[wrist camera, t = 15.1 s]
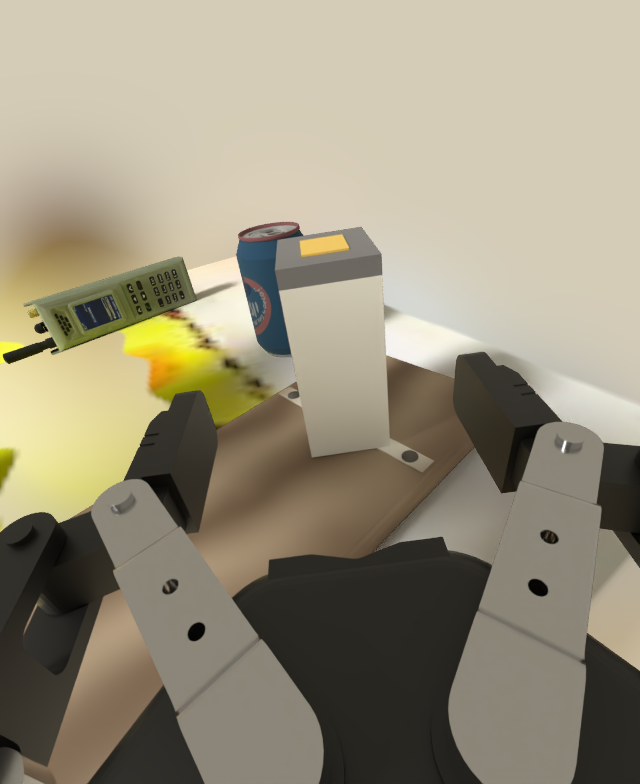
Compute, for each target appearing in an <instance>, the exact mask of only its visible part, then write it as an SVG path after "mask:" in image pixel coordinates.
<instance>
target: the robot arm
mask: <svg viewBox="0 0 640 784" xmlns="http://www.w3.org/2000/svg"><path fill="white" fill-rule="evenodd" d="M453 403H454V408H455V412H456V414H457V416H458V418H459V420H460V422H461V423H462V425H463V427H464V429H465V430H466V432H467V434H468V436H469V437H470V439H471V441H472V443H473V444H474V446H475V448H476V450H477V451H478V453H479V455H480V457H481V458H482V460H483V462H484V464H485V465H486V467H487V469H488V471H489V472H490V474H491V476H492V478H493V479H494V481H495V483H496V485H497V486H498V488H499V490H500V492H501V493H507V492H515V491H517V492H516V495H515V498H514V501H513V504H512V507H511V510H510V513H509V517H508V520H507V523H506V526H505V529H504V532H503V535H502V538H501V541H500V544H499V547H498V550H497V553H496V556H495V560H494V563H493V566H492V565H491V564H489V563H487V562H485V561H483V560H481V559H478V558H476V557H473V556H470V555H467V554H464V553H459V552H455V551H448V550H447V548H446V545H445V542H444V539H443V537H438V538H430V539H422V540H415V541H407V542H400V543H397V544H395V545H392V546H389V547H387V548H384V549H382V550H379V551H377V552H374V553H372V554H369V555H367V556H364V557H361V558H357V559H351V558H342V557H333V556H324V555H315V554H308V555H301V556H293V557H286V558H278V559H271V560H269V568H268V574H267V575H264V576H262V577H260V578H258V579H256V580H254V581H253V582H251V583H250V584H248V585H247V586H245V587H244V588H242V589H241V590H240V591H239V592H238V593H236V594H235V595H234V596H233V597H232V598H231V597H230V595H229V594H228V592H227V591H226V590H225V588H224V587H223V585H222V584H221V583H220V581H219V580H218V578H217V577H216V575H215V574H214V573H213V571H212V570H211V568H210V567H209V566H208V564H207V563H206V561H205V560H204V558H203V557H202V556H201V554H200V553H199V551H198V550H197V549H196V547H195V546H194V544H193V543H192V541H191V540H190V539H189V537H188V536H187V534H190V533H198V532H199V529H200V524H201V520H202V515H203V511H204V506H205V501H206V497H207V492H208V488H209V483H210V478H211V474H212V469H213V465H214V460H215V455H216V451H217V445H218V438H217V431H216V427H215V425H214V422H213V419H212V416H211V413H210V410H209V408H208V405H207V402H206V399H205V396H204V394H203V393H202V391H200V390H199V391H192V392H184V393H177V394H175V396H174V398H173V401H172V403H171V406H170V408H169V410H168V411H162V412H161V413H159V414H158V415H157V416H156V417H155V418H154V419H153V420H152V421H151V422H150V424H149V426H148V428H147V430H146V433H145V437H143V439H142V441H141V444H140V447H139V448H138V450H137V452H136V455H135V457H134V459H133V461H132V463H131V466H130V468H129V470H128V472H127V474H126V476H125V479H124V481H122V482H120V483H117V484H116V485H113V486H112V487H110V488H108V489H107V490H106V491H105V492H103V493H102V494H101V495H100V496H99V497H98V499H97V500H96V501H95V503H94V505H93V507H92V511H89V512H87V513H84V514H82V515H79V516H76V517H74V518H71V519H69V520H66V521H63V522H61V523H58V522H57V521H56V519H55V518H54V517H53V516H52V515H51V514H49V513H45V512H39V513H34V514H30V515H27V516H24V517H22V518H20V519H18V520H16V521H15V522H13V523H12V524H10V525H9V526H7V527H6V528H5V529H3V530H2V531H1V532H0V784H56V780H55V777H54V775H53V773H52V771H51V770H50V769H49V768H47V767H48V764H49V761H50V758H51V755H52V752H53V749H54V745H55V742H56V739H57V736H58V733H59V730H60V727H61V724H62V721H63V718H64V715H65V712H66V709H67V706H68V703H69V700H70V697H71V694H72V691H73V688H74V685H75V682H76V679H77V676H78V673H79V670H80V667H81V664H82V661H83V658H84V655H85V652H86V649H87V646H88V643H89V639H90V636H91V633H92V630H93V627H94V624H95V621H96V618H97V615H98V612H99V609H100V606H101V603H102V600H103V597H104V596H106V595H108V594H110V593H112V592H115V591H117V590H119V589H121V591H122V594H123V596H124V598H125V600H126V602H127V605H128V607H129V609H130V611H131V613H132V616H133V618H134V620H135V622H136V624H137V627H138V629H139V631H140V633H141V635H142V638H143V640H144V642H145V644H146V646H147V649H148V651H149V653H150V655H151V657H152V660H153V662H154V664H155V666H156V668H157V671H158V673H159V675H160V677H161V679H162V682H163V684H164V685H163V686H162V687H161V689H160V690H159V691H158V692H157V694H156V695H155V696H154V698H153V699H152V700H151V701H150V703H149V704H148V705H147V707H146V708H145V709H144V711H143V712H142V713H141V714H140V716H139V717H138V718H137V720H136V721H135V722H134V724H133V725H132V726H131V727H130V729H129V730H128V731H127V733H126V734H125V735H124V737H123V738H122V739H121V740H120V742H119V743H118V744H117V746H116V747H115V748H114V750H113V751H112V752H111V753H110V755H109V756H108V757H107V759H106V760H105V761H104V762H103V764H102V765H101V766H100V768H99V769H98V770H97V772H96V773H95V774H94V775H93V777H92V778H91V779H90V781H89V782H88V783H87V784H640V671H639V670H638V669H636V668H635V667H633V666H632V665H631V664H629V663H628V662H627V661H625V660H624V659H622V658H621V657H620V656H618V655H617V654H615V653H614V652H613V651H611V650H610V649H609V648H607V647H606V646H604V645H603V644H602V643H600V642H599V641H597V640H596V639H594V638H593V637H592V636H591V635H589V634H588V633H587V627H588V619H589V611H590V603H591V594H592V586H593V578H594V569H595V561H596V553H597V545H598V536H599V528H602V529H609V530H613V531H614V533H615V534H616V535H617V537H618V538H619V540H620V541H621V542H622V544H623V545H624V547H625V548H626V549H627V551H628V552H629V554H630V555H631V556H632V558H633V559H634V561H635V562H636V563H637V565H638V566H639V568H640V446H632V445H621V444H609V443H603V442H602V441H601V439H600V438H599V437H598V436H597V435H596V434H595V433H594V432H592V431H590V430H589V429H587V428H585V427H582V426H580V425H577V424H573V423H568V422H562V421H561V420H560V418H559V417H558V416H557V415H556V414H555V413H554V412H553V411H552V410H551V409H550V407H549V406H548V405H547V404H546V403H545V402H544V401H543V400H542V399H541V398H540V396H539V395H538V394H535V391H534V390H533V389H532V388H531V387H530V385H529V386H528V383H527V382H526V381H525V380H524V379H523V378H522V377H521V376H520V374H519V373H517V372H515V371H513V370H512V369H510V368H508V367H506V366H504V365H500V366H496V365H495V363H494V362H493V361H492V360H491V359H490V357H489V356H488V355H487V354H486V353H485V352H478V353H471V354H464V355H459V356H458V357H457V360H456V368H455V380H454V391H453ZM36 604H37V607H36V609H35V612H34V614H33V616H32V618H31V620H30V622H29V625H28V627H27V629H26V631H25V633H24V630H25V627H26V625H27V622H28V620H29V618H30V616H31V614H32V612H33V610H34V607H35V605H36ZM23 634H24V635H23Z"/></svg>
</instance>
